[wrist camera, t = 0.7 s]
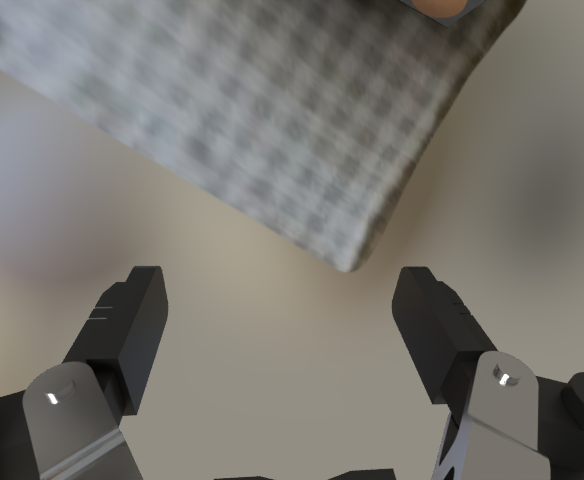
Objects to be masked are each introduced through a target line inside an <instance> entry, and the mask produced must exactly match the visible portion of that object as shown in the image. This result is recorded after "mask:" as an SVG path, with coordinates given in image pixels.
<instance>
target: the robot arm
mask: <svg viewBox="0 0 584 480" xmlns="http://www.w3.org/2000/svg"><path fill="white" fill-rule="evenodd" d="M392 314H393V317H394V320H395V322H396V324H397V326H398V329H399V331H400V333H401V335H402V338H403V340H404V342H405V344H406V347H407V349H408V351H409V353H410V355H411V358H412V360H413V362H414V364H415V367H416V369H417V371H418V373H419V376H420V378H421V380H422V382H423V385H424V387H425V389H426V391H427V393H428V396H429V398H430V400H431V402H432V404H447V405H448V407H449V409H450V411H451V412H450V413H449V415H448V418H447V422H446V426H445V429H444V433H443V437H442V441H441V445H440V449H439V452H438V456H437V460H436V464H435V468H434V471H433V475H432V478H431V480H584V372H581V373H577V374H575V375H574V376H573V377H572V378H571V380H570V381H569V382H568V383H563V382H559V381H555V380H551V379H546V378H543V377H538V376H535V375H534V373H533V372H532V371H531V370H530V369H529V367H528V366H526V365H525V364H524V363H523V362H521V361H520V360H519V359H516V358H515V357H513V356H511V355H509V354H506V353H503V352H499V351H498V350H497V349H496V347H495V346H494V344H493V343H492V342H491V340H490V339H489V337H488V336H487V335H486V334H485V332H484V331H483V329H482V328H481V326H480V325H479V324H478V322H477V321H476V319H475V318H474V317H473V315H471V313H470V311H469V310H468V308H467V307H466V306H464V303H463V301H462V300H461V299H460V297H459V296H458V295H457V293H456V292H455V291H454V290H453V289H451V288H450V287H449V286H448V285H446V284H445V283H444V282H442V281H437V280H436V279H435V277H434V276H433V274H432V273H431V271H430V270H429V268H427V267H403V268H402V269H401V272H400V275H399V279H398V282H397V286H396V289H395V293H394V296H393V300H392ZM167 316H168V300H167V294H166V289H165V284H164V278H163V273H162V269H161V267H160V266H135V267H134V268H133V269H132V271H131V273H130V274H129V276H128V278H127V280H126V282H116V283H115V284H113V285H112V286H111V287H110V288H109V289H108V290H106V291H105V292H104V293H103V294H102V296H101V297H100V299H99V301H98V302H97V304H96V306H95V309H93V311H92V313H91V314H90V316H89V320H87V321H86V323H85V325H84V326H83V328H82V330H81V331H80V333H79V335H78V336H77V338H76V340H75V342H74V343H73V345H72V347H71V348H70V350H69V352H68V353H67V355H66V357H65V359H64V360H63V362H62V363H61V364H59V365H56V366H54V367H52V368H50V369H48V370H46V371H44V372H43V373H41V374H40V375H39V376H38V377H36V379H34V380H33V382H31V384H30V385H29V386H28V388H27V389H26V390H23V391H20V392H17V393H13V394H10V395H7V396H3V397H0V480H143V478H142V476H141V473H140V471H139V469H138V467H137V465H136V463H135V460H134V458H133V456H132V454H131V452H130V449H129V447H128V445H127V443H126V441H125V439H124V437H123V434H122V432H120V429H119V425H120V421H121V419H122V416H128V415H137V412H138V409H139V406H140V403H141V400H142V396H143V393H144V390H145V387H146V384H147V381H148V378H149V374H150V371H151V368H152V365H153V362H154V359H155V356H156V353H157V349H158V346H159V343H160V340H161V337H162V334H163V330H164V327H165V324H166V321H167ZM214 480H273V479H268V478H265V477H260V476H257V477H239V478H223V479H214ZM329 480H396V478H395V474H394V471H393V469H377V470H359V471H349V472H347V473H344V474H341V475H339V476H336V477H334V478H331V479H329Z"/></svg>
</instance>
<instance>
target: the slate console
mask: <svg viewBox="0 0 584 480" xmlns="http://www.w3.org/2000/svg"><path fill="white" fill-rule="evenodd" d="M400 1H401V2H403V3H405V4H407V5H408V6H410V7H412V8H414V9H415V10H417V11H419V10H418V9H417V8H416V7H415V6H414V4H413V2H412V0H400ZM484 1H486V0H467V3H466V5H465V8H464V9H463V10H462V11H461V12H460V13H459V14H457V15H455V16H452V17H447V18H436V17H431V16H428V15H426V16H428V17H430V18H431V19H433V20H435V21H437V22H438V23H440V24H442V25H444V26H446V27H448V26H450V25H451V24H453V23H454V22H456V21H457V20H458V19H460V18H461V17H463V16H464V15H466V14H467V13H468V12H470V11H471V10H473V9H474V8H476V7H477V6H478V5H480V4H481V3H483V2H484ZM419 12H420V11H419ZM421 13H422V12H421ZM424 15H425V14H424Z"/></svg>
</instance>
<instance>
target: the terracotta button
mask: <svg viewBox="0 0 584 480" xmlns="http://www.w3.org/2000/svg"><path fill="white" fill-rule="evenodd" d="M412 2H413V4H414V6H415V7H416V8H417V9H418V10H419V11H420V12H422V13H423V14H425V15H428V16H431V17H436V18H447V17H452V16H455V15H457V14H459V13H460V12H461V11H462V10H463V9H464V8H465V5H466V3H467V0H412Z"/></svg>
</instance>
